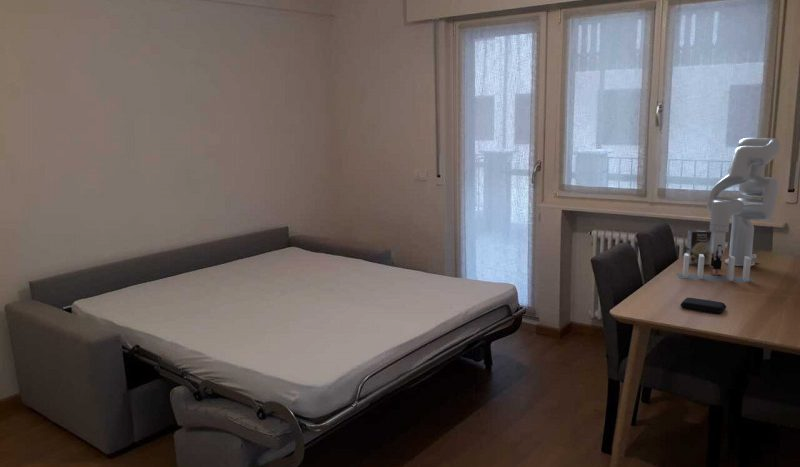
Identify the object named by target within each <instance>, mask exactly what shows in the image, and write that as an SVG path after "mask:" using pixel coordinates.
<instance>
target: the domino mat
mask: <svg viewBox="0 0 800 467" xmlns="http://www.w3.org/2000/svg"><path fill="white" fill-rule="evenodd" d="M676 276H677V277H678V279H681V280H682V279H683V280H695V281H696V280H699V281H711V282H712V281H713V282H717V281H718V282H730V283H731V282H732V283H745V284H746V283H748V284H756V282H755V281H754V279H752V278H751V277H749V282H745V281H744V280H743V279H742V277H739V276H734V278H733V281H729V280H728V278H727V276H721V275H720V276H719V275H704V274H703V279H699V278H698V276H697V274H690V273H688V278H684V277H683V273H676Z"/></svg>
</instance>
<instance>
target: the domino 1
mask: <svg viewBox="0 0 800 467" xmlns="http://www.w3.org/2000/svg"><path fill="white" fill-rule="evenodd" d="M682 262H683V266H682V274H683V277H684V278H688V274H689V268H690V267H689V265H690V264H689V254H688V253H686V252H685V253H684V254H683V261H682Z"/></svg>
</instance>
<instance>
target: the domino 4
mask: <svg viewBox="0 0 800 467" xmlns="http://www.w3.org/2000/svg"><path fill="white" fill-rule="evenodd" d="M750 265H751V259H750V258H749V257H748V256H744V266H742V267H743V268H742V277H741V278H742V279H743V280H744V281H745V282H749V278H750V273H751V266H750Z"/></svg>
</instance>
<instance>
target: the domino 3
mask: <svg viewBox="0 0 800 467" xmlns="http://www.w3.org/2000/svg"><path fill="white" fill-rule="evenodd" d="M728 259H729V261H728V264H727V276H726V277H727V278H728V280H729V281H733V278H734V277H735V268H736V266H735V257H734V256H729V255H728Z"/></svg>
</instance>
